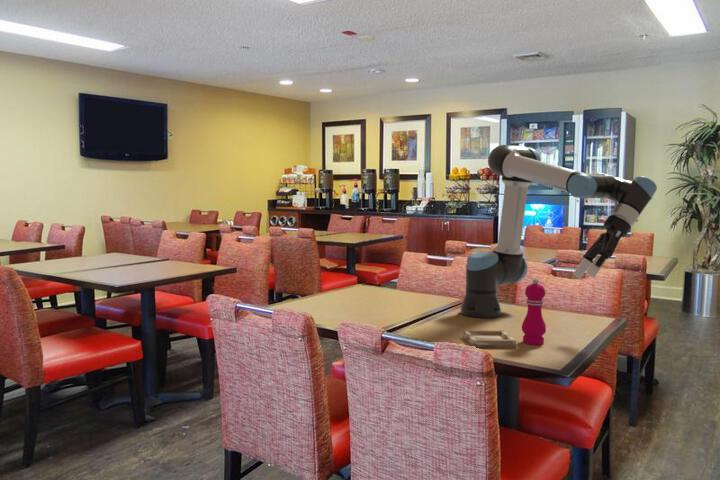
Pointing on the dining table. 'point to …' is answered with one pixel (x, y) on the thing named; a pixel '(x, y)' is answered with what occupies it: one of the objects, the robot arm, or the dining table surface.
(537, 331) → the pepper mill
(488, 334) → the tray
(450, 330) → the dining table surface
